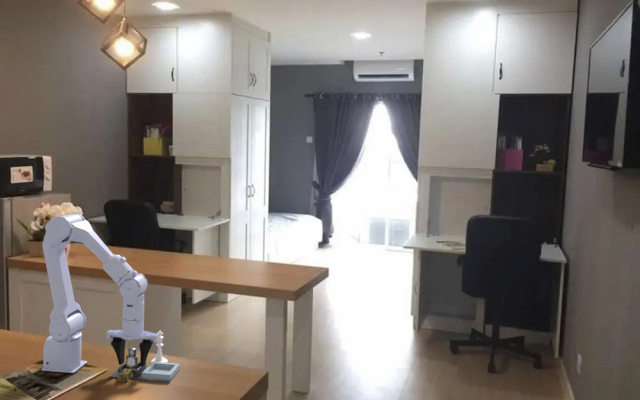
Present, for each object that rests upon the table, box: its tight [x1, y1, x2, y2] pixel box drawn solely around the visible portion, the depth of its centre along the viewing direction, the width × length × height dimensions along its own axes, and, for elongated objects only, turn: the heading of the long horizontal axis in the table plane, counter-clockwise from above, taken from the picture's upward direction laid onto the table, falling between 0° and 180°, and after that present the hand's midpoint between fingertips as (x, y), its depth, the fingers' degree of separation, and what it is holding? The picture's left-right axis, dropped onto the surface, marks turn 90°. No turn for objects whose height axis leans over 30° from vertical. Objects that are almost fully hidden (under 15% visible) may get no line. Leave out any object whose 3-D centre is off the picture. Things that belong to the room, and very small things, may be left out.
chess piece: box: [150, 330, 169, 364], centre depth 163 cm, size 5×5×10 cm
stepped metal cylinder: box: [125, 346, 139, 370], centre depth 155 cm, size 3×3×7 cm
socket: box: [109, 361, 149, 381], centre depth 156 cm, size 9×9×2 cm
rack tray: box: [141, 362, 181, 383], centre depth 155 cm, size 8×8×2 cm
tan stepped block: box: [117, 368, 133, 383], centre depth 152 cm, size 3×4×2 cm
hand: (132, 364), depth 156 cm, fingers open, 6 cm apart
